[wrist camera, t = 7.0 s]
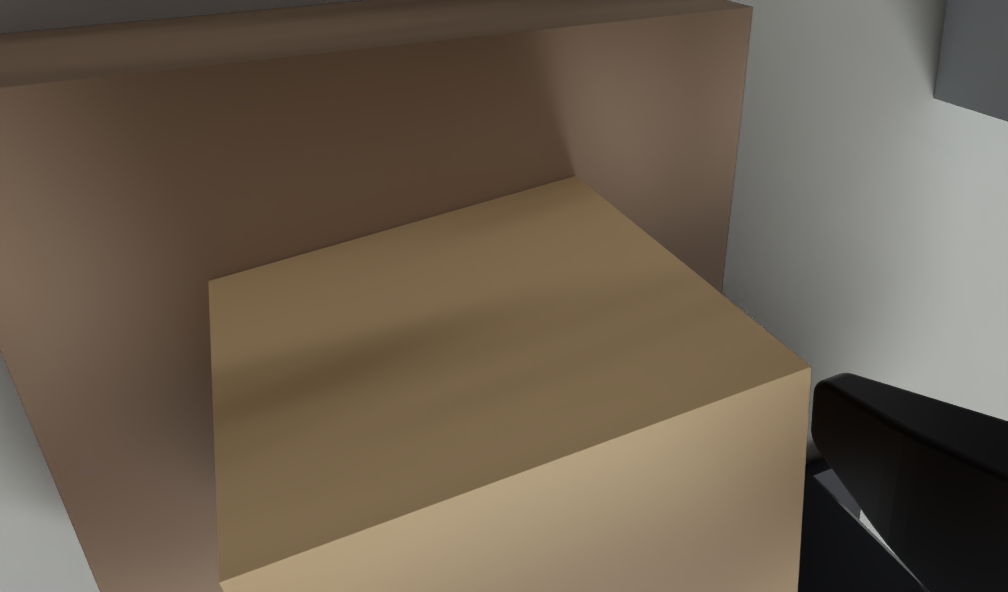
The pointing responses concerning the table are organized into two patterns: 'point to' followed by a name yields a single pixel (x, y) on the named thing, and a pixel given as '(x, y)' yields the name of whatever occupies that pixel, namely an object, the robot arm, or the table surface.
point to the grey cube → (975, 57)
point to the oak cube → (502, 414)
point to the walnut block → (303, 197)
